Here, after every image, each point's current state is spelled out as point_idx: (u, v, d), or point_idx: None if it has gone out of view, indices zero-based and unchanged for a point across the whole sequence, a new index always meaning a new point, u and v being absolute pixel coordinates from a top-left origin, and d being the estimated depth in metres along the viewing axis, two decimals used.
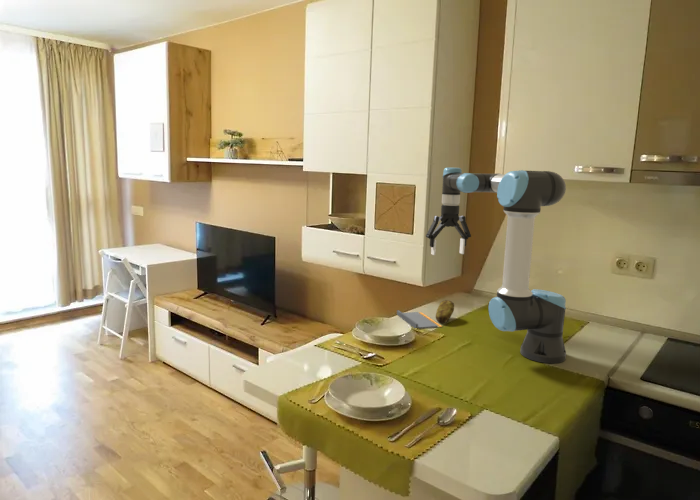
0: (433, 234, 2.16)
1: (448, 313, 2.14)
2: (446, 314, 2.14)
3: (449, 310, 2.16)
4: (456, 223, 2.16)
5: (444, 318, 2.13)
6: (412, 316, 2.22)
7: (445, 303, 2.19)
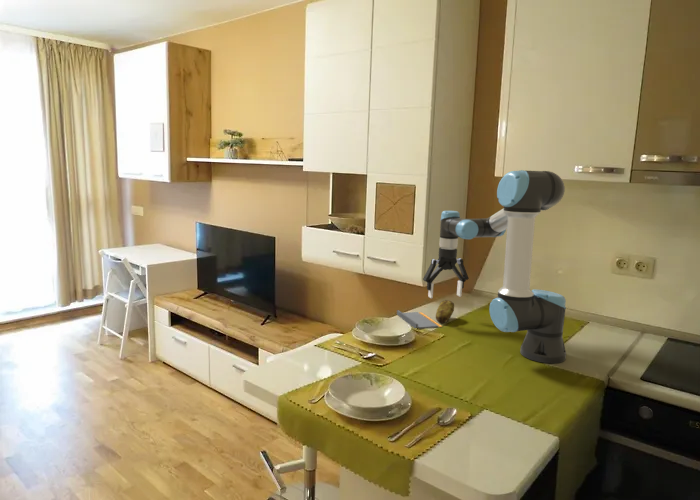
0: (430, 277, 2.14)
1: (448, 313, 2.14)
2: (446, 314, 2.14)
3: (449, 310, 2.16)
4: (454, 266, 2.15)
5: (444, 318, 2.13)
6: (412, 316, 2.22)
7: (445, 303, 2.19)
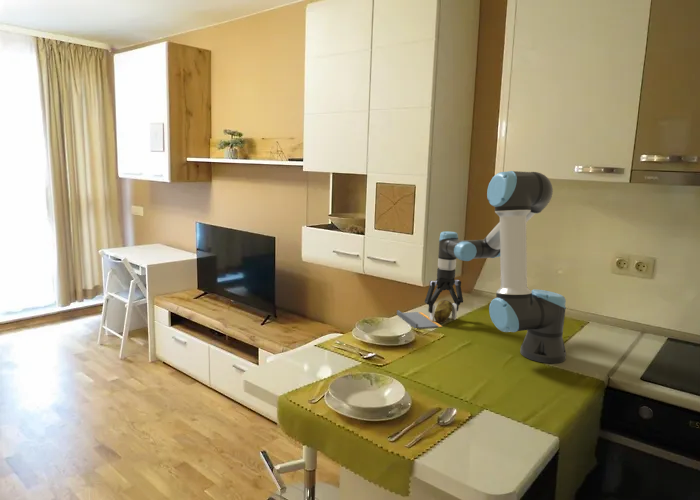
0: (431, 300, 2.16)
1: (447, 313, 2.14)
2: (445, 314, 2.13)
3: (448, 310, 2.16)
4: (451, 287, 2.16)
5: (443, 318, 2.13)
6: (412, 316, 2.22)
7: (443, 303, 2.19)
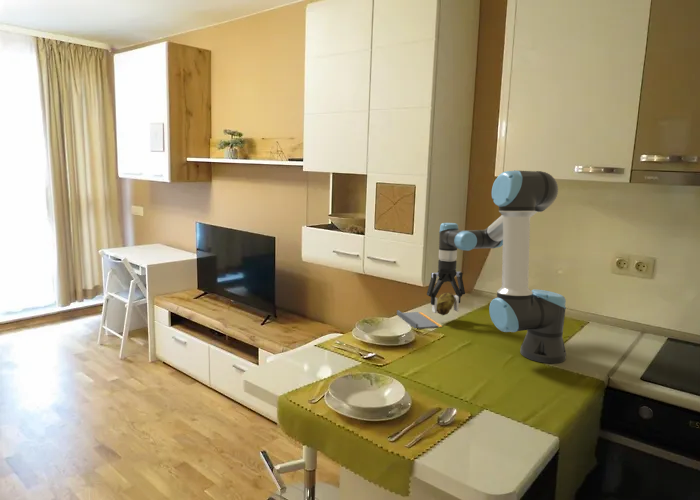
0: (433, 292, 2.15)
1: (449, 305, 2.13)
2: (447, 306, 2.12)
3: (450, 302, 2.15)
4: (453, 279, 2.15)
5: (445, 310, 2.11)
6: (412, 316, 2.22)
7: (445, 295, 2.18)
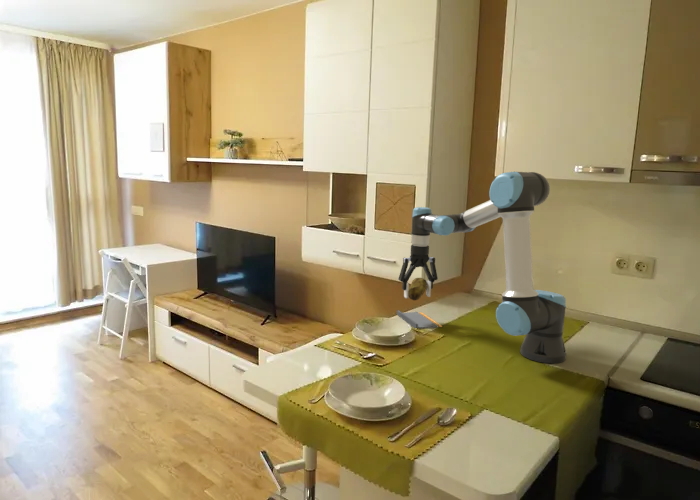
0: (405, 277, 2.13)
1: (420, 290, 2.11)
2: (418, 291, 2.10)
3: (421, 287, 2.13)
4: (425, 264, 2.13)
5: (416, 295, 2.10)
6: (412, 316, 2.22)
7: (417, 280, 2.16)
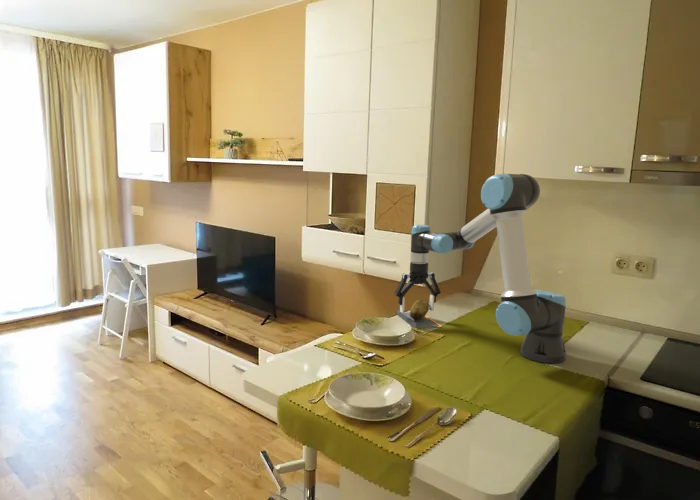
0: (402, 292, 2.13)
1: (424, 312, 2.13)
2: (422, 312, 2.12)
3: (425, 309, 2.14)
4: (425, 281, 2.14)
5: (419, 315, 2.11)
6: None
7: (421, 302, 2.17)
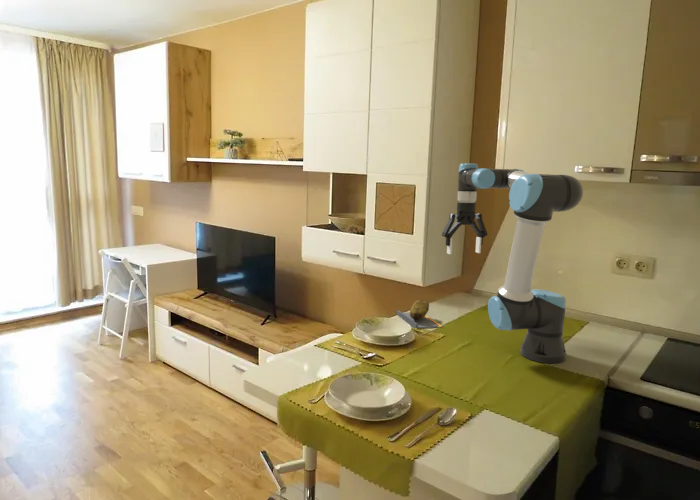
0: (449, 232, 2.08)
1: (424, 312, 2.13)
2: (422, 312, 2.12)
3: (425, 309, 2.14)
4: (472, 221, 2.09)
5: (419, 315, 2.11)
6: None
7: (421, 302, 2.17)
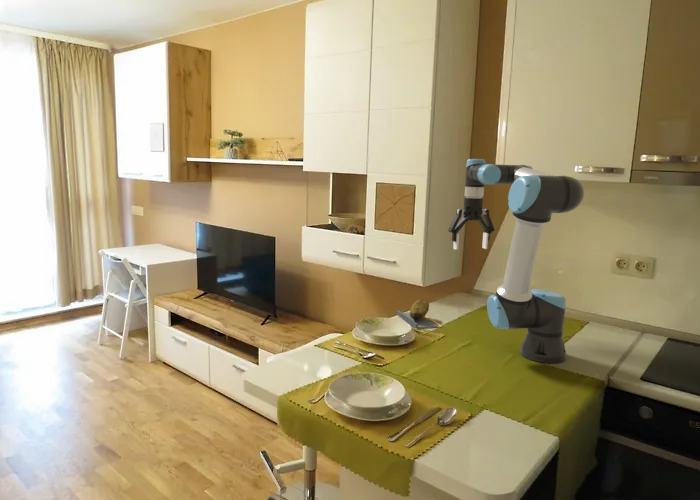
0: (456, 228, 2.08)
1: (424, 312, 2.13)
2: (422, 312, 2.12)
3: (425, 309, 2.14)
4: (479, 217, 2.09)
5: (419, 315, 2.11)
6: None
7: (421, 302, 2.17)
